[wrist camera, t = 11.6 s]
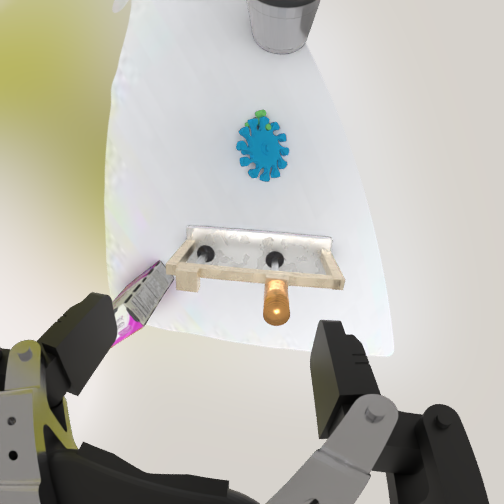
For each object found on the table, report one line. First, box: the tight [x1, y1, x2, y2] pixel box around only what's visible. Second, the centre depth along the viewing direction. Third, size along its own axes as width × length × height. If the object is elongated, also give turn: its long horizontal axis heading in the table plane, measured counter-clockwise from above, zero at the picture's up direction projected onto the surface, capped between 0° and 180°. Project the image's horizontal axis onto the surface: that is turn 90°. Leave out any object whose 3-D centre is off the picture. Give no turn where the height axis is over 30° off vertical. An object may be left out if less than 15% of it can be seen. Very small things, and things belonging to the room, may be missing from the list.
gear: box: [236, 110, 289, 182], centre depth 41 cm, size 11×6×10 cm
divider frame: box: [166, 225, 345, 292], centre depth 43 cm, size 9×25×14 cm, turn 86°
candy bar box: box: [111, 261, 174, 348], centre depth 46 cm, size 11×5×16 cm, turn 126°
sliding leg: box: [263, 258, 290, 326], centre depth 39 cm, size 3×3×18 cm
